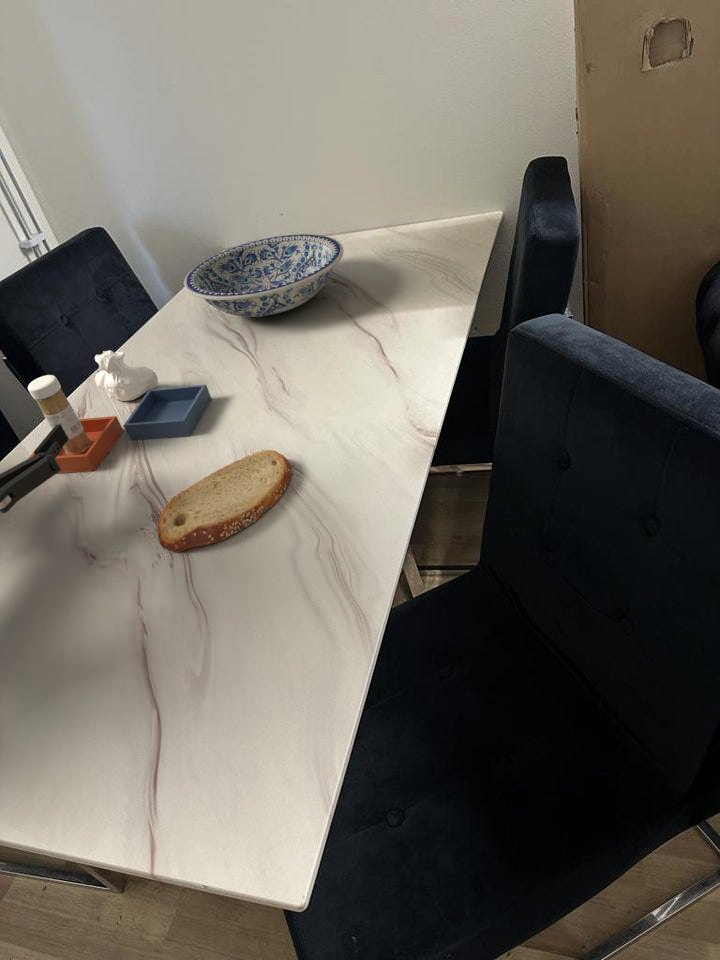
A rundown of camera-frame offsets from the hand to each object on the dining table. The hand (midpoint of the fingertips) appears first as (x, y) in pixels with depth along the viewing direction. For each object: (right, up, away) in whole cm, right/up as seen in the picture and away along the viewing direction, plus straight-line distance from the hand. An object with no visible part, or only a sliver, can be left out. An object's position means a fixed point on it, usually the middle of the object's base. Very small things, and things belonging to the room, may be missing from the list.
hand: (23, 434), depth 100 cm
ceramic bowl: (+32, +32, +46) cm, 65 cm away
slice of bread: (+32, -10, -6) cm, 34 cm away
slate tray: (+18, +4, +16) cm, 24 cm away
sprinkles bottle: (+3, -2, +13) cm, 13 cm away
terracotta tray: (+3, -2, +13) cm, 13 cm away
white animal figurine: (+8, +9, +25) cm, 28 cm away
